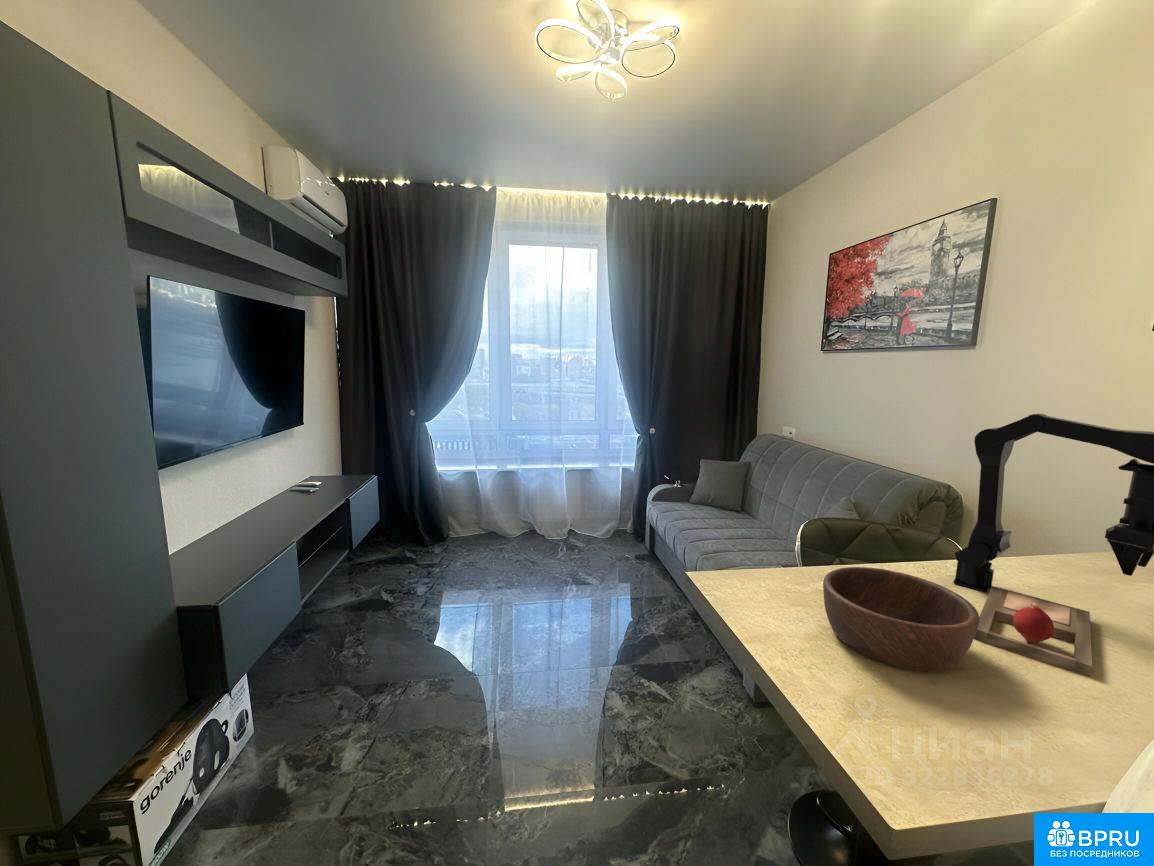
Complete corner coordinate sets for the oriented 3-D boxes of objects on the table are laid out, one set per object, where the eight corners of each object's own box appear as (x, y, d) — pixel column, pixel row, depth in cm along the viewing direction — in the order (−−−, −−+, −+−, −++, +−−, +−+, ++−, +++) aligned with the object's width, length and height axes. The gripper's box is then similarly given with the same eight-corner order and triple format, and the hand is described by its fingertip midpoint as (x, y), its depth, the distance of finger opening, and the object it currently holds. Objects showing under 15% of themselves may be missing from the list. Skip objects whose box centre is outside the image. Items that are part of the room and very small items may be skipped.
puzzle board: (973, 638, 94) (974, 627, 94) (990, 593, 113) (992, 584, 113) (1090, 676, 83) (1092, 664, 83) (1088, 620, 102) (1089, 610, 102)
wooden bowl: (841, 598, 110) (845, 556, 109) (980, 643, 93) (987, 594, 91) (800, 640, 93) (804, 591, 91) (961, 706, 75) (970, 646, 74)
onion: (1040, 637, 95) (1046, 599, 94) (1058, 653, 90) (1064, 613, 89) (1004, 631, 97) (1010, 594, 96) (1020, 646, 92) (1026, 608, 90)
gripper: (1205, 514, 82) (1186, 598, 84) (1229, 501, 90) (1210, 577, 93) (1111, 497, 91) (1096, 573, 94) (1141, 487, 100) (1126, 556, 102)
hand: (1134, 570), depth 95 cm, fingers open, 9 cm apart
